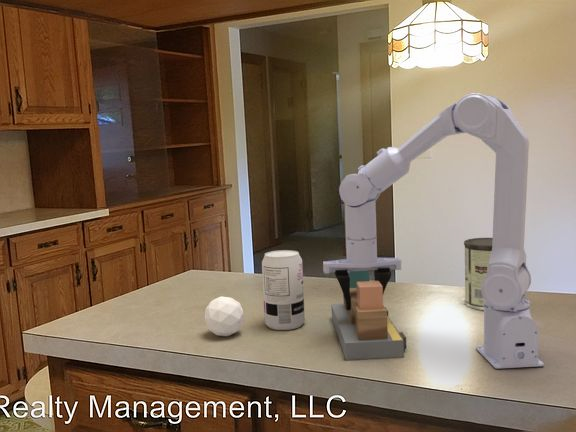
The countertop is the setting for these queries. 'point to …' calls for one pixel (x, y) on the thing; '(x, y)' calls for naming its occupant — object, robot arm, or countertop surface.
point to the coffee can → (476, 270)
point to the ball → (224, 316)
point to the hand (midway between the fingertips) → (363, 307)
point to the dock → (366, 348)
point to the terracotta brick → (369, 295)
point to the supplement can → (283, 290)
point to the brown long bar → (367, 320)
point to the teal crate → (358, 277)
